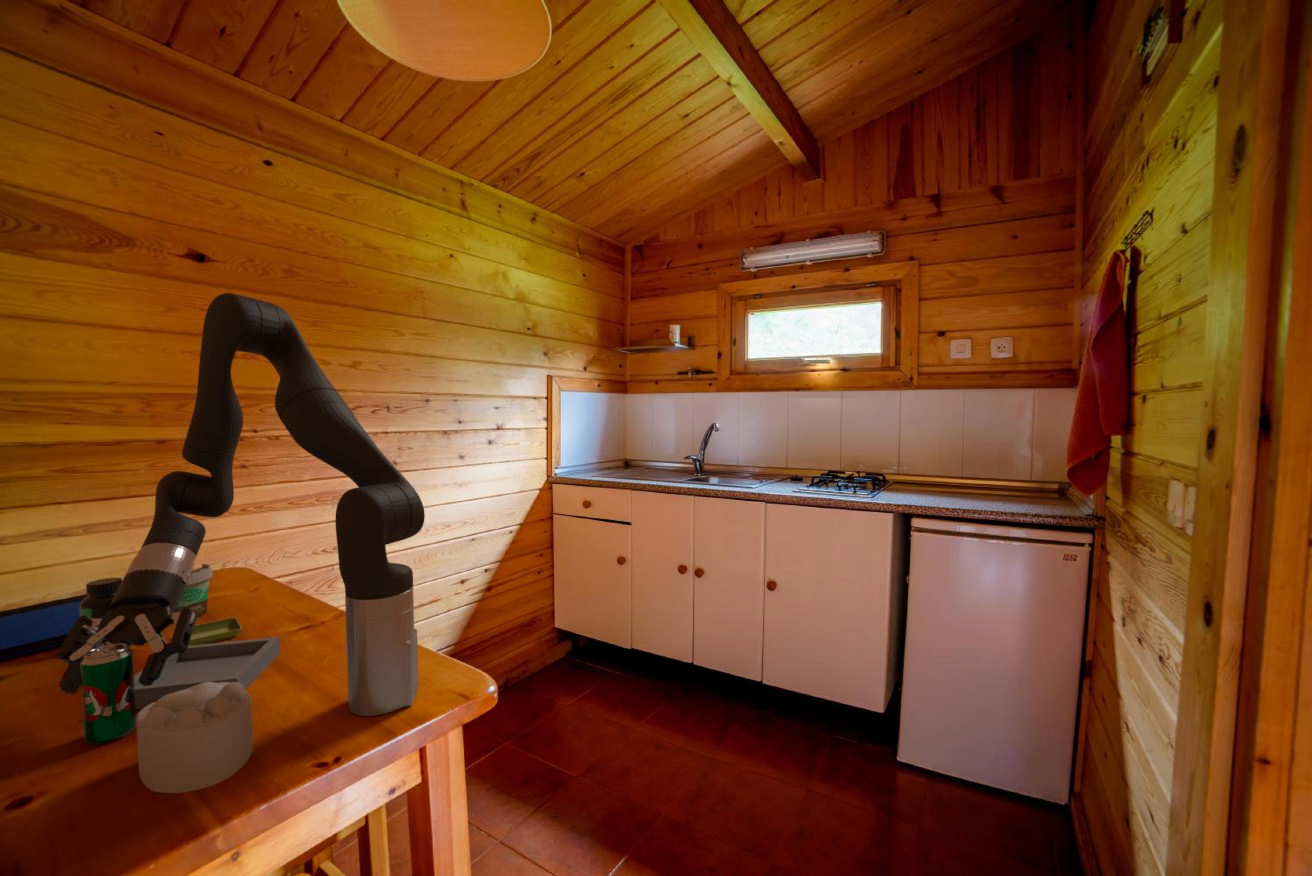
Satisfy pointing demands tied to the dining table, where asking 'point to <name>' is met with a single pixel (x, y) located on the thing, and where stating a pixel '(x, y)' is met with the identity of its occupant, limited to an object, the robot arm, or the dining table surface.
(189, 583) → the food container
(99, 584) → the supplement bottle
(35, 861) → the dining table surface
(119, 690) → the soda can
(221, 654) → the tray
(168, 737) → the lumpy-topped squat cylinder
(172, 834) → the dining table surface
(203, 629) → the green square dish
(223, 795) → the dining table surface
